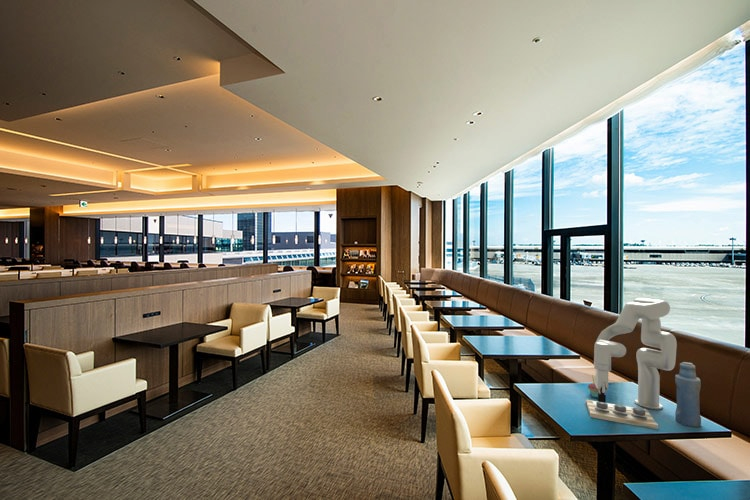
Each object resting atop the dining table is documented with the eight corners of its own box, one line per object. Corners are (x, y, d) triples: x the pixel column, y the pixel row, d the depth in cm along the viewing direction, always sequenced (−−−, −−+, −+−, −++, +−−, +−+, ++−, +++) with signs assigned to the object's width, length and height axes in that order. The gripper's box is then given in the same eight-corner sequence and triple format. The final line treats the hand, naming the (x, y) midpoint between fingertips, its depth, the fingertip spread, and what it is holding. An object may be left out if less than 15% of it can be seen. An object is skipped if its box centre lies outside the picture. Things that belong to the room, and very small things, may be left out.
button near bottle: (632, 410, 184) (632, 406, 184) (643, 412, 182) (643, 408, 182) (634, 414, 179) (634, 410, 180) (646, 416, 177) (646, 412, 177)
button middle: (613, 407, 187) (613, 403, 187) (625, 409, 185) (625, 405, 185) (615, 411, 183) (615, 407, 183) (627, 413, 181) (627, 409, 181)
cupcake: (587, 396, 212) (587, 375, 212) (588, 392, 219) (588, 372, 219) (604, 399, 207) (604, 379, 208) (604, 395, 214) (605, 375, 215)
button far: (595, 404, 191) (595, 400, 191) (606, 406, 189) (606, 402, 189) (597, 408, 186) (597, 404, 186) (608, 410, 184) (608, 406, 184)
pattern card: (592, 401, 199) (592, 400, 199) (640, 409, 190) (640, 408, 190) (593, 404, 195) (593, 404, 195) (642, 413, 185) (642, 412, 185)
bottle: (703, 429, 173) (704, 367, 174) (677, 424, 178) (677, 363, 179) (697, 421, 181) (698, 362, 182) (672, 417, 186) (673, 359, 187)
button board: (585, 403, 202) (585, 399, 202) (646, 413, 190) (646, 409, 190) (590, 417, 183) (590, 412, 184) (657, 429, 172) (657, 424, 172)
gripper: (592, 361, 196) (591, 395, 196) (596, 369, 183) (595, 405, 182) (608, 363, 193) (607, 398, 193) (613, 371, 179) (612, 408, 179)
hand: (601, 401), depth 187 cm, fingers closed
